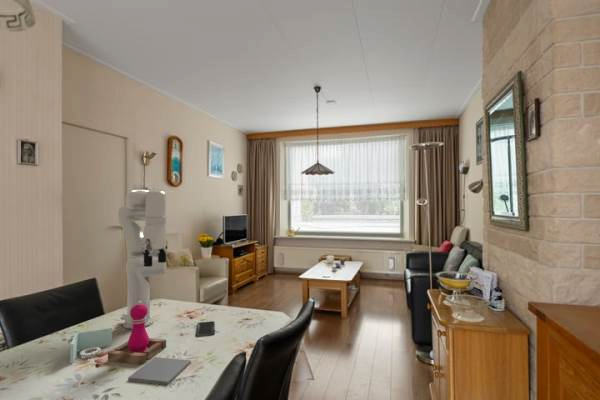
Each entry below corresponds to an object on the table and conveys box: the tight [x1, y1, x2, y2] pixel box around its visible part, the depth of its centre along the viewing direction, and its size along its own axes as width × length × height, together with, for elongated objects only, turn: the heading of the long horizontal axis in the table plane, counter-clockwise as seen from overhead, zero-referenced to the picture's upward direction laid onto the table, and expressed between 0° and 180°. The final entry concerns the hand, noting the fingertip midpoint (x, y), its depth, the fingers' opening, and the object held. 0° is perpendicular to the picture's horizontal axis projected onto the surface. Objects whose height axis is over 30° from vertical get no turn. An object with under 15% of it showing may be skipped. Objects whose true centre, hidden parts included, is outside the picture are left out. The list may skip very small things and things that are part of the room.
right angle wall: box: [69, 326, 113, 364], centre depth 120 cm, size 12×12×8 cm
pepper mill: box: [127, 301, 150, 353], centre depth 121 cm, size 7×7×20 cm
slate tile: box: [127, 356, 192, 386], centre depth 108 cm, size 14×14×1 cm
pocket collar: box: [107, 337, 167, 366], centre depth 120 cm, size 14×14×3 cm
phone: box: [195, 320, 216, 338], centre depth 145 cm, size 8×1×15 cm
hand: (155, 264), depth 128 cm, fingers open, 9 cm apart
